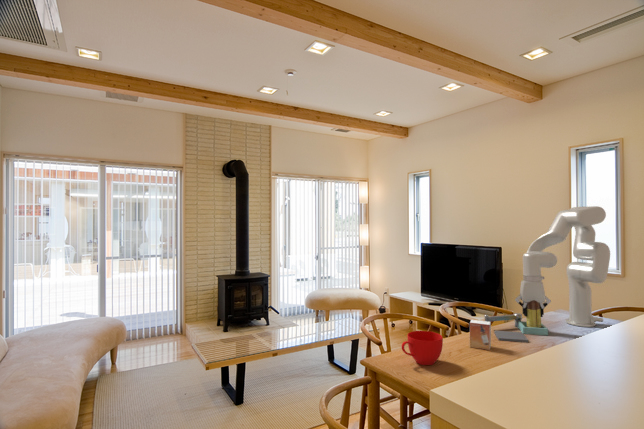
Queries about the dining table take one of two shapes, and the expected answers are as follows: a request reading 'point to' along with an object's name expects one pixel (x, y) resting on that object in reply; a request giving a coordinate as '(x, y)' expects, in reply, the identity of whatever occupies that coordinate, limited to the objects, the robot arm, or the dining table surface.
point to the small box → (480, 334)
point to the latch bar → (503, 317)
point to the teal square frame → (530, 328)
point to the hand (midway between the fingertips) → (533, 315)
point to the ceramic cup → (424, 346)
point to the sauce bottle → (533, 314)
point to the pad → (511, 336)
